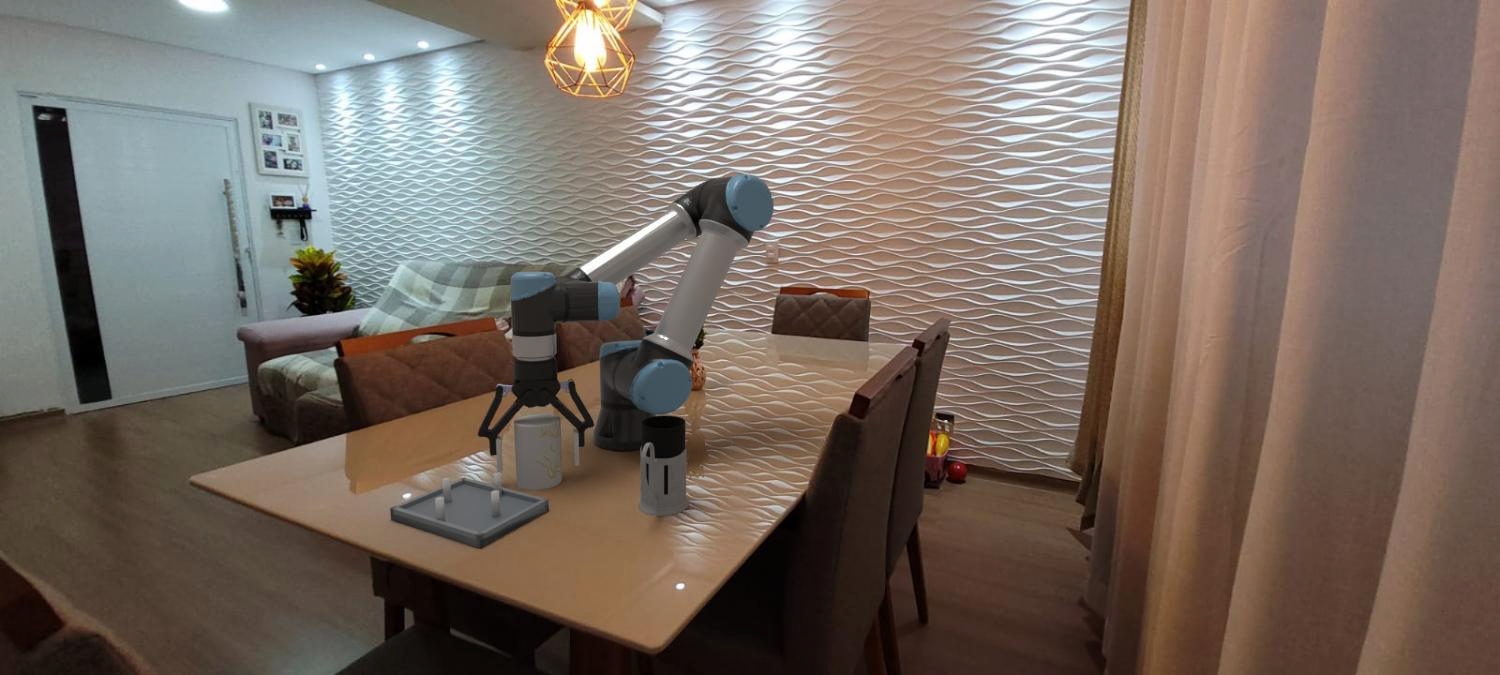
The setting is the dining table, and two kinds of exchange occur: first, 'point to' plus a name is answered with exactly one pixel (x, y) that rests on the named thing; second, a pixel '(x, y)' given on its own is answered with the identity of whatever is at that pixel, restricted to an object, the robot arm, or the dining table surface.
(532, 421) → the cup
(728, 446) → the dining table surface
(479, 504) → the tray
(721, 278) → the robot arm
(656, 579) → the dining table surface
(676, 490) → the glass holder
